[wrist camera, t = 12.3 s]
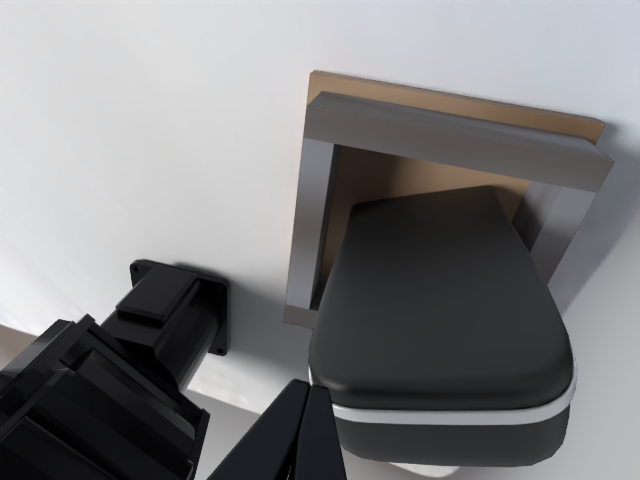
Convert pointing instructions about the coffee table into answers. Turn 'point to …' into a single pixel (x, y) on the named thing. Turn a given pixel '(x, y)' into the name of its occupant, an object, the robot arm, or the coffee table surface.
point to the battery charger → (442, 336)
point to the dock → (433, 168)
